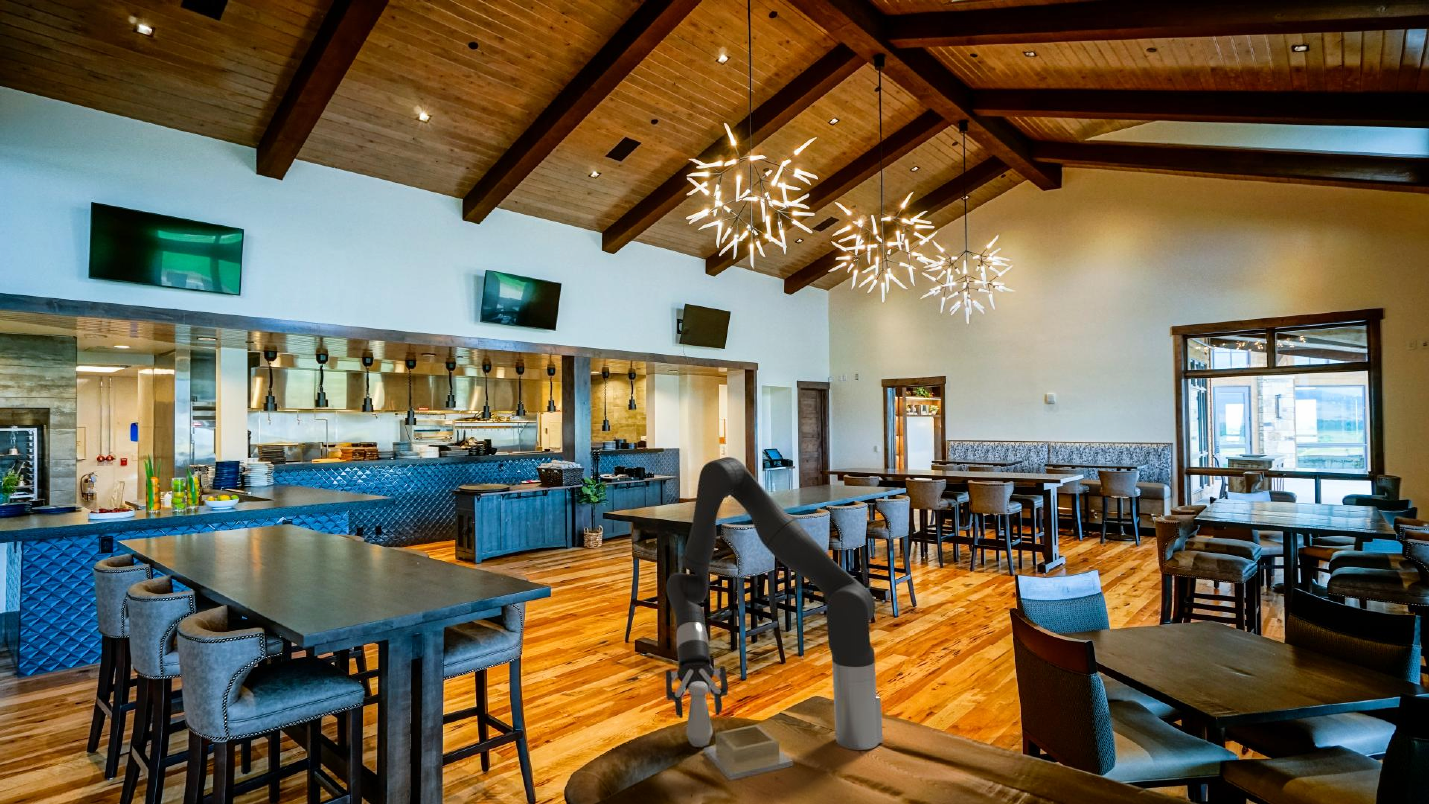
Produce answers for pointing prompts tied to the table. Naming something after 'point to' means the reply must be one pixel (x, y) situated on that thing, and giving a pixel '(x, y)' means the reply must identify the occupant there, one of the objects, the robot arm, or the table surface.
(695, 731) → the salt shaker
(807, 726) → the table surface
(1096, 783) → the table surface
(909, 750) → the table surface
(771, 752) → the beige square open box
